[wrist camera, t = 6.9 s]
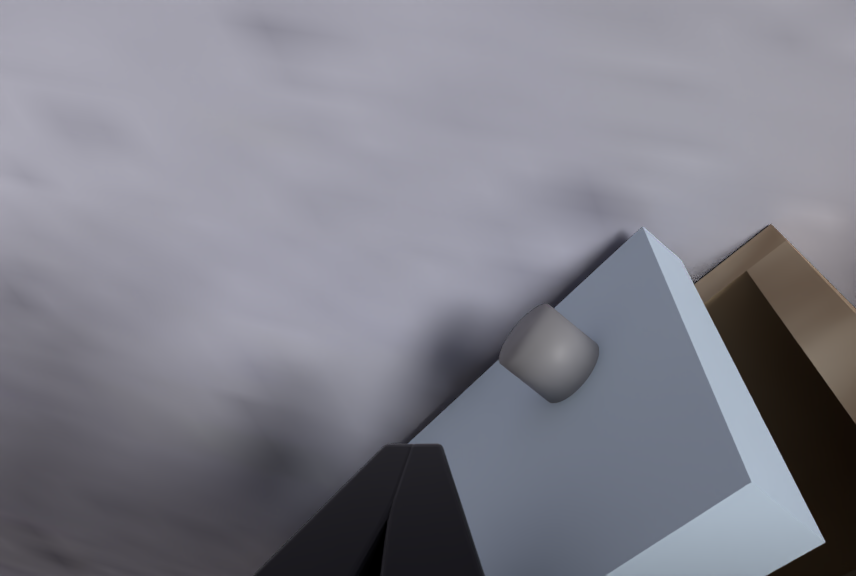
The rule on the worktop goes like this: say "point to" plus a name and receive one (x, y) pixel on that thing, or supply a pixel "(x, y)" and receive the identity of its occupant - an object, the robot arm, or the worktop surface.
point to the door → (621, 439)
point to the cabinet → (796, 380)
